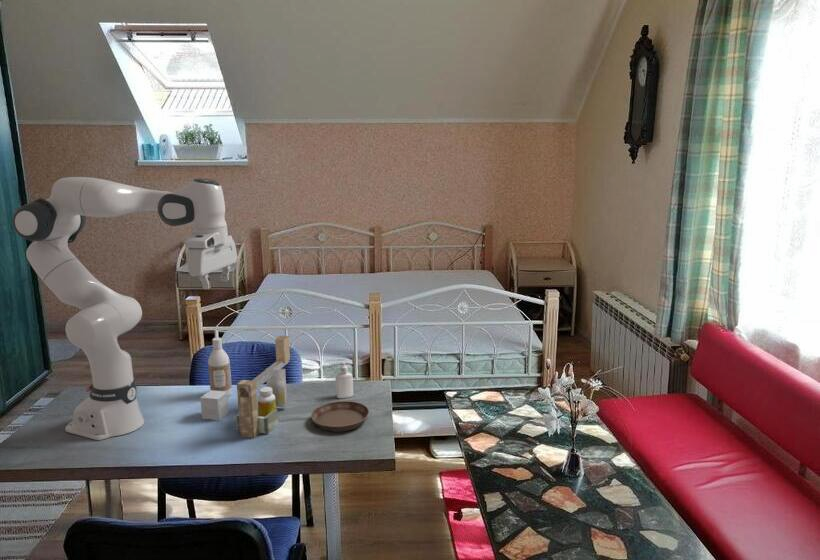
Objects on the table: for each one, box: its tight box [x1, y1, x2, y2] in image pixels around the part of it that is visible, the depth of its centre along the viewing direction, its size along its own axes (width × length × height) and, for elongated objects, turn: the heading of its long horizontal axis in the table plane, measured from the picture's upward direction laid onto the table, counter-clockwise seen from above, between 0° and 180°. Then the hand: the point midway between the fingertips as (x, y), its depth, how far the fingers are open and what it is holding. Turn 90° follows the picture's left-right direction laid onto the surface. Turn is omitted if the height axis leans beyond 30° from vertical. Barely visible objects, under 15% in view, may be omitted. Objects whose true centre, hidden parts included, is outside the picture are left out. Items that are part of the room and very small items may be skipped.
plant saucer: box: [311, 400, 370, 433], centre depth 194 cm, size 18×18×3 cm
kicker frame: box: [235, 379, 279, 439], centre depth 187 cm, size 10×10×17 cm
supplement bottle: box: [257, 386, 277, 417], centre depth 196 cm, size 5×5×10 cm
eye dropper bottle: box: [335, 362, 354, 399], centre depth 211 cm, size 4×6×12 cm
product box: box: [200, 389, 229, 421], centre depth 198 cm, size 6×6×7 cm
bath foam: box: [207, 337, 233, 397], centre depth 213 cm, size 7×7×20 cm
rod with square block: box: [244, 335, 291, 408], centre depth 196 cm, size 6×26×21 cm, turn 166°
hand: (216, 284), depth 180 cm, fingers open, 8 cm apart
